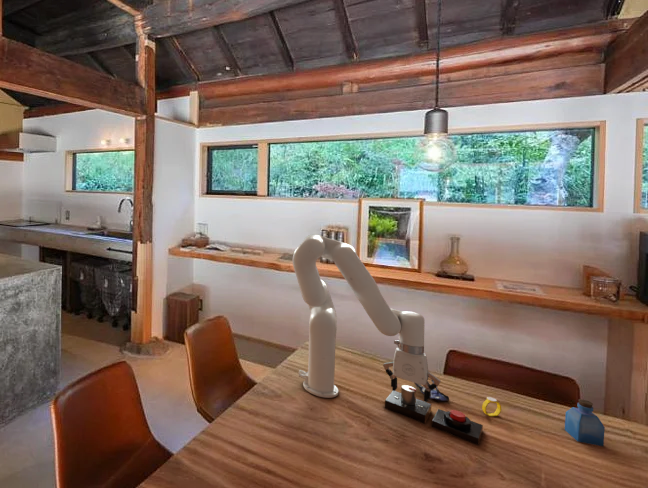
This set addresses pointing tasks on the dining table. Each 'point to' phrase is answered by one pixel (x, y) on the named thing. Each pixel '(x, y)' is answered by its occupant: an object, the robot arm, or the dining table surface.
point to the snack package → (434, 393)
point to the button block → (458, 427)
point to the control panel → (408, 407)
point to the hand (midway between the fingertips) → (410, 394)
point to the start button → (457, 415)
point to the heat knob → (408, 395)
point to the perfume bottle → (584, 424)
